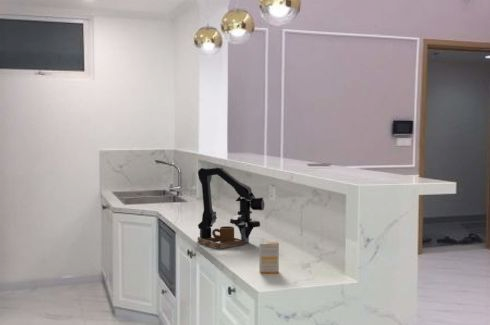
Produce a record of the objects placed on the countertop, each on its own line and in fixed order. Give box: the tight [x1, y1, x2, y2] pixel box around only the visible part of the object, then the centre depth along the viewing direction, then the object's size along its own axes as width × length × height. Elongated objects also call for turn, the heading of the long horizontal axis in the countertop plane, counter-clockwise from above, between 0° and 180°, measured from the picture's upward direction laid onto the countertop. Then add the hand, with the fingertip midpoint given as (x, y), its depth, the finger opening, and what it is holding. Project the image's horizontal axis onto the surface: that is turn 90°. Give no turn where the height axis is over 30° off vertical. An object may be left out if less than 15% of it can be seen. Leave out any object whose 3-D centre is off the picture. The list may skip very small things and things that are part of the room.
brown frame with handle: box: [197, 228, 250, 249], centre depth 300 cm, size 18×24×7 cm
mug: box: [211, 225, 235, 243], centre depth 295 cm, size 12×8×9 cm, turn 110°
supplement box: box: [258, 240, 280, 274], centre depth 243 cm, size 8×5×13 cm, turn 92°
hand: (244, 238), depth 304 cm, fingers open, 3 cm apart
